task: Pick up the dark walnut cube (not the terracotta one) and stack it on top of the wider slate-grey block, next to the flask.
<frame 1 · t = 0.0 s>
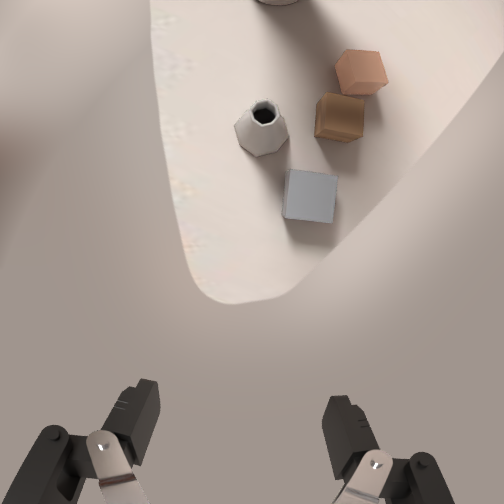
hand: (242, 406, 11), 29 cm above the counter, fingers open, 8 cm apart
terracotta cube: (353, 79, 34), on the counter
grey base block: (304, 195, 38), on the counter
flask: (261, 131, 36), on the counter
walnut cube: (332, 123, 35), on the counter
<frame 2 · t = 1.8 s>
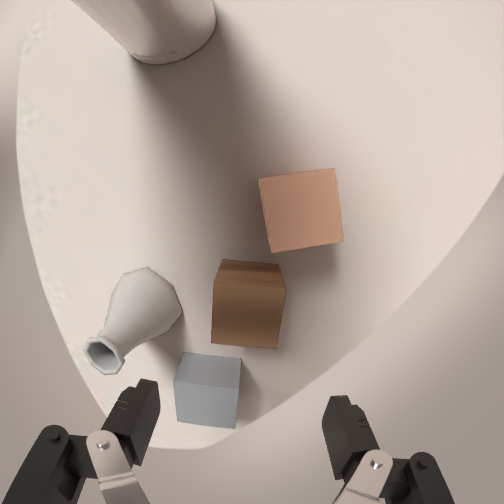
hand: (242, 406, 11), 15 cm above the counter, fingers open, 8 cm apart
terracotta cube: (291, 203, 24), on the counter
grey base block: (211, 376, 28), on the counter
flask: (147, 301, 26), on the counter
walnut cube: (247, 287, 26), on the counter
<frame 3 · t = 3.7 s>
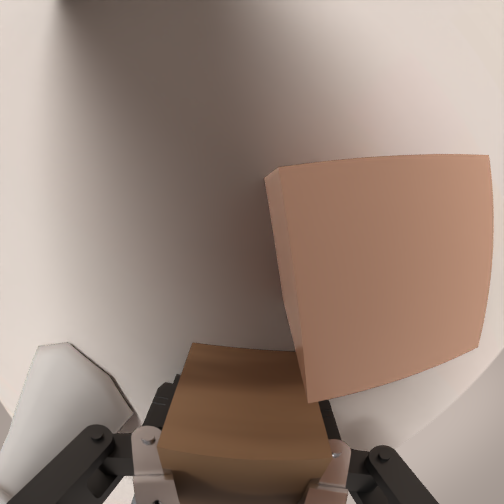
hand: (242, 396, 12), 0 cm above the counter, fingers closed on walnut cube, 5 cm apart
terracotta cube: (336, 232, 11), on the counter
flask: (80, 387, 13), on the counter
walnut cube: (243, 389, 12), on the counter, touching gripper
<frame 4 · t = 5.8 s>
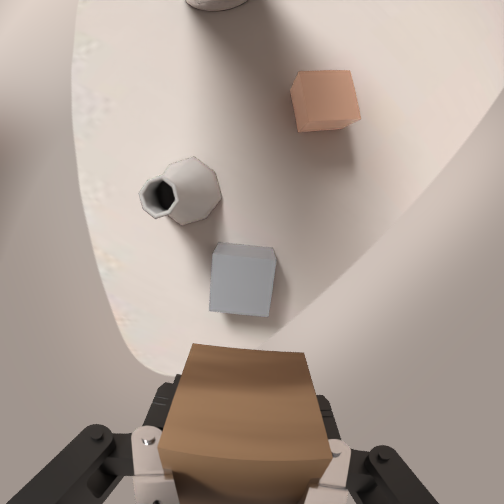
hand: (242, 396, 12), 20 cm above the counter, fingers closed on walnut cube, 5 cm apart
terracotta cube: (316, 109, 27), on the counter
grey base block: (243, 270, 32), on the counter
flask: (188, 190, 30), on the counter
walnut cube: (244, 390, 12), point 20 cm above the counter, touching gripper
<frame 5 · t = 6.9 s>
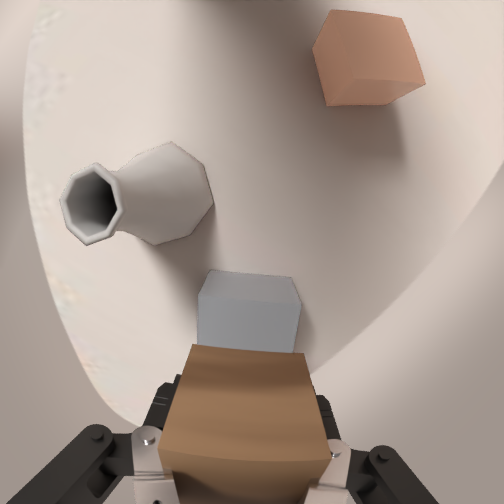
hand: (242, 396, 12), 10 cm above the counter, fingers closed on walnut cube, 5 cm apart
terracotta cube: (349, 76, 17), on the counter
grey base block: (247, 309, 21), on the counter
flask: (163, 193, 19), on the counter
walnut cube: (243, 390, 12), point 9 cm above the counter, touching gripper
when the fingers open (7 cm above the counter, at t = 7.9 s): walnut cube drops 1 cm, resting on grey base block.
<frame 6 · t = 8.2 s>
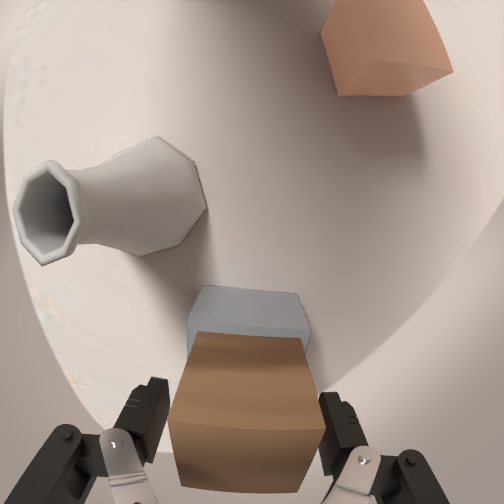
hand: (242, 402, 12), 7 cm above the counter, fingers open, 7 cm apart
terracotta cube: (363, 63, 14), on the counter
grey base block: (245, 329, 19), on the counter, touching walnut cube
flask: (149, 196, 17), on the counter
walnut cube: (245, 374, 14), point 5 cm above the counter, touching grey base block
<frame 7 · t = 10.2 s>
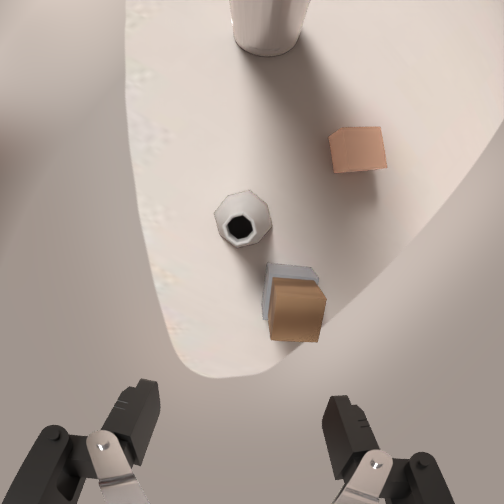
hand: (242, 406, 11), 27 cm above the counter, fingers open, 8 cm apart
terracotta cube: (348, 153, 34), on the counter
grey base block: (286, 285, 38), on the counter, touching walnut cube
flask: (243, 218, 36), on the counter
walnut cube: (290, 298, 33), point 5 cm above the counter, touching grey base block
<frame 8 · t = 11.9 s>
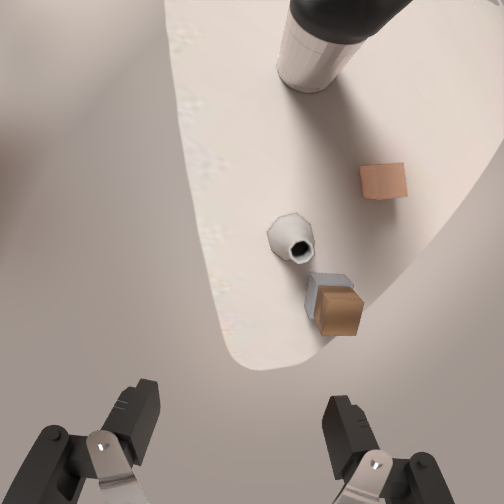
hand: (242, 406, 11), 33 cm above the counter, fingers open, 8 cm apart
terracotta cube: (374, 180, 41), on the counter
grey base block: (324, 290, 45), on the counter, touching walnut cube
flask: (290, 236, 43), on the counter
walnut cube: (331, 301, 40), point 5 cm above the counter, touching grey base block
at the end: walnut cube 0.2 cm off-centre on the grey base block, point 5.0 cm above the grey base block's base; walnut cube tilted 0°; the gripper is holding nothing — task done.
